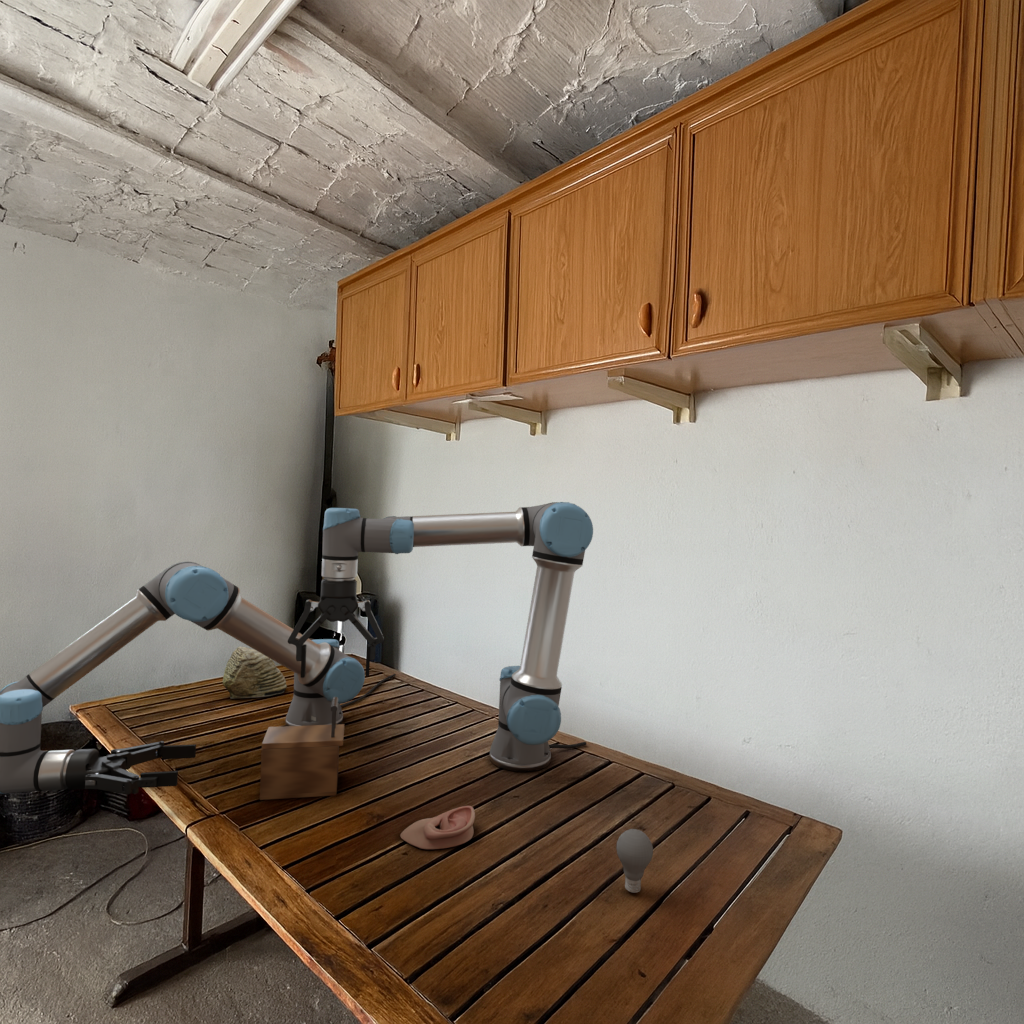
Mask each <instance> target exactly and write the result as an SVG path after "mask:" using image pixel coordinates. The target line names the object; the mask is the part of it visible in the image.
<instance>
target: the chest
mask: <svg viewBox="0 0 1024 1024" xmlns="http://www.w3.org/2000/svg"><path fill="white" fill-rule="evenodd" d="M260 756H261V757H260V778H259V779H260V781H259V783H260V784H259V800H260V801H264V800H266V801H267V800H279V799H280V800H281V799H298V798H300V799H301V798H314V797H317V798H318V797H331V796H332V797H333V796H337V792H338V781H339V761H340V746H323V747H300V748H277V749H262V748H261V755H260Z"/></svg>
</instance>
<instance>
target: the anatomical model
mask: <svg viewBox="0 0 1024 1024" xmlns="http://www.w3.org/2000/svg"><path fill="white" fill-rule="evenodd" d="M475 820H476V812H475V809H474V807H473V806H471V805H463V806H459V807H455V808H452V809H450V810H447V811H445V812H443V813H440V814H439V815H436V816H434V817H427V818H422V819H419V820H417V821H415V822H413V823H412V824H410V825H409V826H407V827H406V828H405V829H404V830H402V832H401V833H400V835H399V836H400V838H401V840H403V841H404V842H406V843H408V844H409V845H411V846H413V847H416V848H419V849H422V850H440V849H447V848H454V847H457V846H460V845H463V844H465V843H467V842H469V841H471V839H472V838H473V836H474V833H475V832H474V826H473V824H474V823H475Z"/></svg>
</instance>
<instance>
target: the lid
mask: <svg viewBox="0 0 1024 1024" xmlns="http://www.w3.org/2000/svg"><path fill="white" fill-rule="evenodd" d="M337 707H338V698H337V697H333V698H332V703H331V711H332V725H309V726H286V725H283V726H268V727H267V730H266V732H265V735H264V738H263V740H262V742H261V750H262V749H277V748H300V747H323V746H339V747H341V746H344V736H345V723H341V724H337V725H336V711H337Z"/></svg>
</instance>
